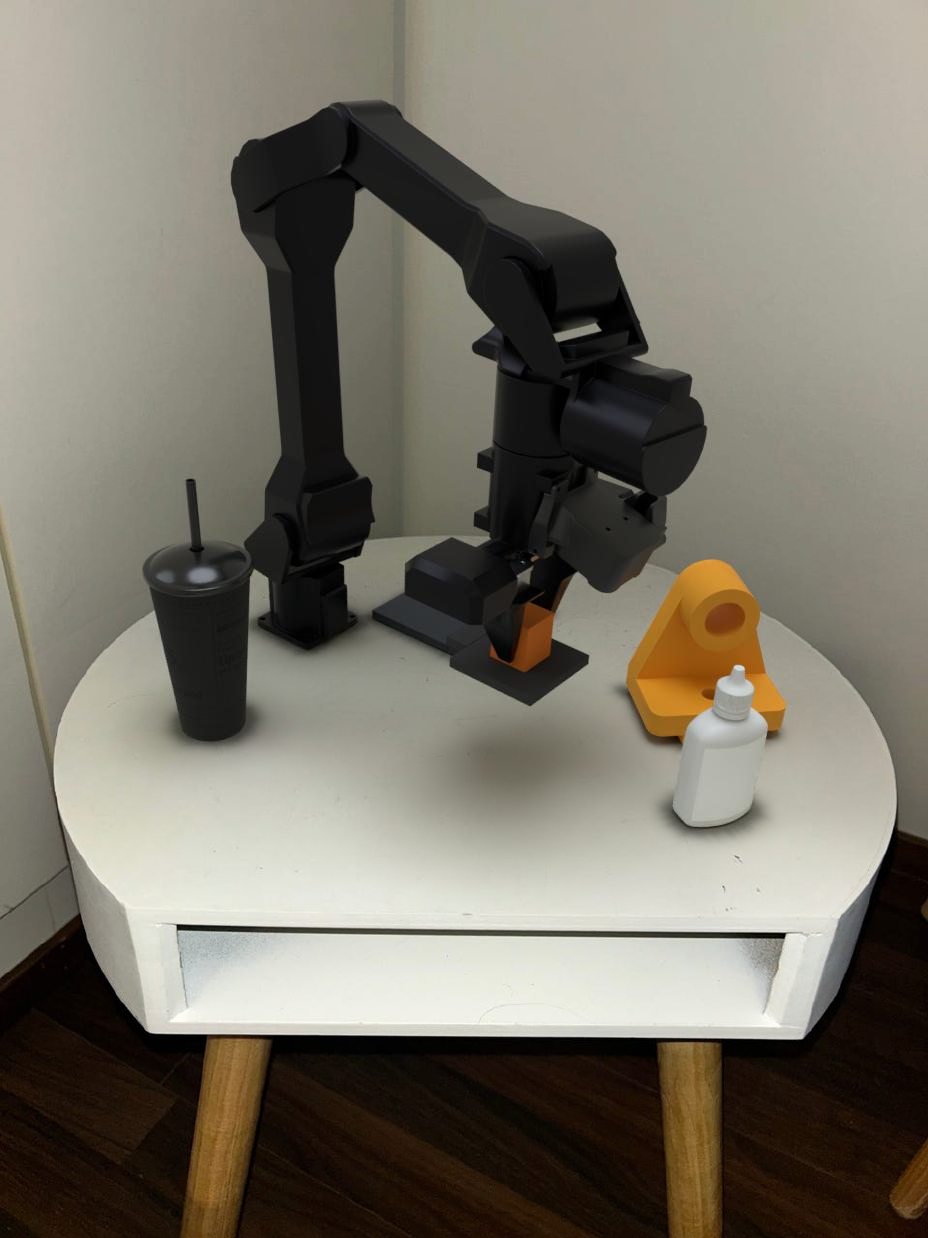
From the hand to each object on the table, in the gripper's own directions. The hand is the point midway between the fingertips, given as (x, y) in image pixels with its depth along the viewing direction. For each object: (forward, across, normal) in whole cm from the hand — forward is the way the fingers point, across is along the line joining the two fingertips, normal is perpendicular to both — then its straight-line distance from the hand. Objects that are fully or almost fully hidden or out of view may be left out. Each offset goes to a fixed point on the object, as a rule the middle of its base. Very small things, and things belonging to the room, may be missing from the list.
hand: (520, 650), depth 77 cm
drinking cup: (+10, -11, +20) cm, 25 cm away
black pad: (+1, 0, 0) cm, 1 cm away
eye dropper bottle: (+10, +5, -14) cm, 18 cm away
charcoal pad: (+10, +14, +16) cm, 23 cm away
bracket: (+10, +15, -8) cm, 20 cm away
